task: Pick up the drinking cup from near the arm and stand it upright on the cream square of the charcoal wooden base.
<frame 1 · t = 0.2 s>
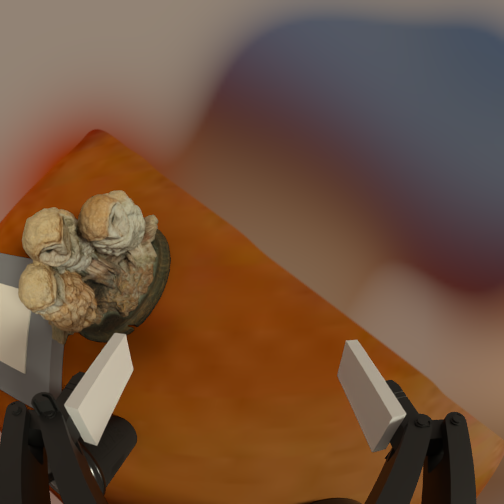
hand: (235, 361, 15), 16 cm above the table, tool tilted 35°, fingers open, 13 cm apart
drinking cup: (119, 432, 25), on the table
base: (17, 327, 27), on the table
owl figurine: (118, 286, 31), on the table
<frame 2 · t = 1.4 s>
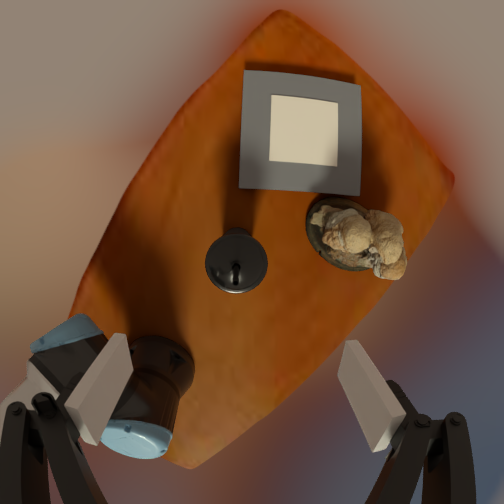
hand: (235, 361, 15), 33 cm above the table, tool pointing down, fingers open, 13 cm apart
drinking cup: (237, 241, 47), on the table
base: (300, 133, 42), on the table
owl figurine: (344, 233, 47), on the table
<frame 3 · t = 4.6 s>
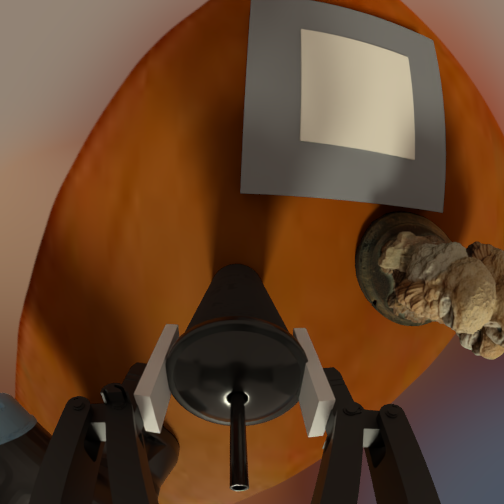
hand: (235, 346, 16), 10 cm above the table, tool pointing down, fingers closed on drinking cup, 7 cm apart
drinking cup: (237, 286, 26), on the table, touching gripper
base: (349, 99, 22), on the table
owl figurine: (409, 269, 27), on the table
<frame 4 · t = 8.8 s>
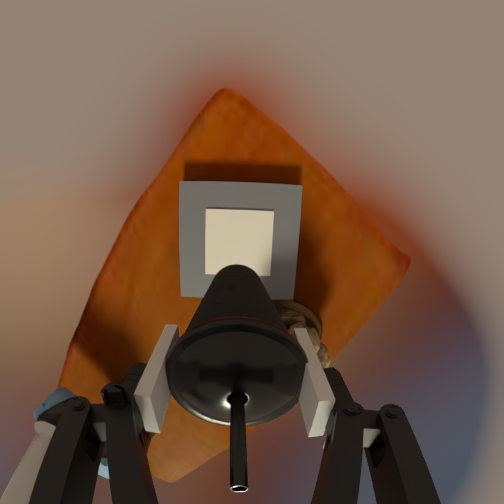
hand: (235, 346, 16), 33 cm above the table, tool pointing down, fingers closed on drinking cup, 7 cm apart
drinking cup: (237, 287, 26), point 23 cm above the table, touching gripper
base: (238, 239, 48), on the table
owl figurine: (281, 324, 53), on the table
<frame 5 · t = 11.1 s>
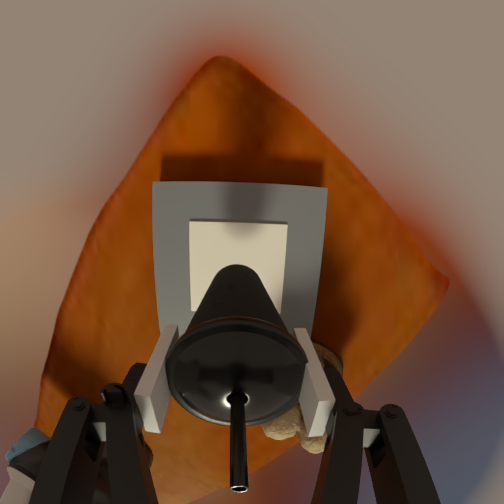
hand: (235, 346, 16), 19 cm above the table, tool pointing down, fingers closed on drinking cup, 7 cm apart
drinking cup: (237, 287, 26), point 9 cm above the table, touching gripper
base: (237, 262, 35), on the table
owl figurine: (292, 367, 40), on the table
when the fingers open (14 cm above the table, at t = 13.0 s): drinking cup stays where it is, resting on base.
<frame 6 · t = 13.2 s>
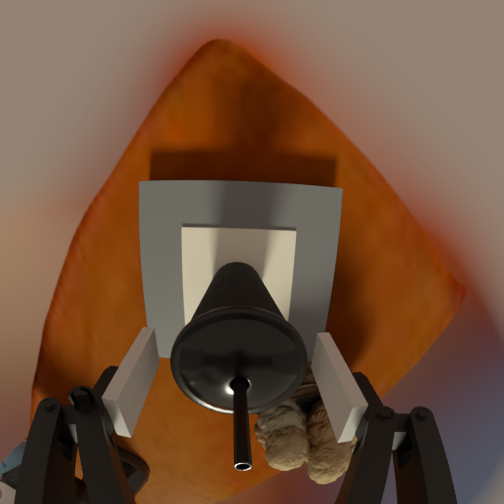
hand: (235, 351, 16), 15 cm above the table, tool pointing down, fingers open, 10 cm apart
drinking cup: (237, 284, 27), point 3 cm above the table, touching base
base: (237, 273, 30), on the table
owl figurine: (298, 385, 35), on the table
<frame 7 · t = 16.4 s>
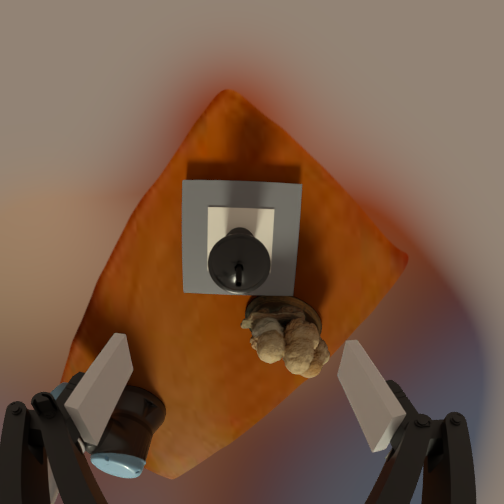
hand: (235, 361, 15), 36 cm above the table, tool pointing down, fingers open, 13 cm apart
drinking cup: (239, 240, 46), point 3 cm above the table, touching base
base: (240, 236, 49), on the table
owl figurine: (282, 320, 54), on the table
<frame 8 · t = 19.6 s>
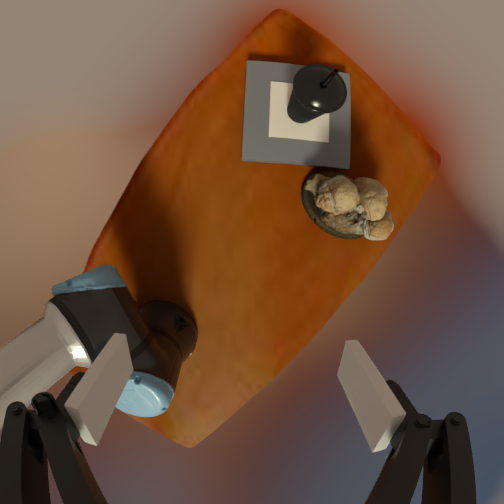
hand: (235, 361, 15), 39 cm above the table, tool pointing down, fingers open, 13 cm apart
drinking cup: (300, 111, 44), point 3 cm above the table, touching base
base: (296, 114, 47), on the table
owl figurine: (336, 204, 52), on the table
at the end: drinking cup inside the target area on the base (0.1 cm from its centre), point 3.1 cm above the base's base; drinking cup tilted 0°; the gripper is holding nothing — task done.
